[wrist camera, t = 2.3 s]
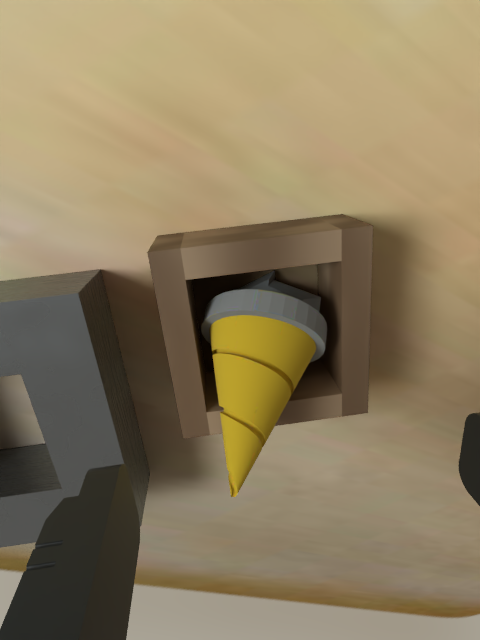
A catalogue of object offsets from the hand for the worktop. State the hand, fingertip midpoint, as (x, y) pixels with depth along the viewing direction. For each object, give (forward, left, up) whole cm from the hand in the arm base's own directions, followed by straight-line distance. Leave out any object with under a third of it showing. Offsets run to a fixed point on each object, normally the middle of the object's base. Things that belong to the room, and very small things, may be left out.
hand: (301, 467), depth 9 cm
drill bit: (0, +1, -11) cm, 11 cm away
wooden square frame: (0, 0, -11) cm, 11 cm away
